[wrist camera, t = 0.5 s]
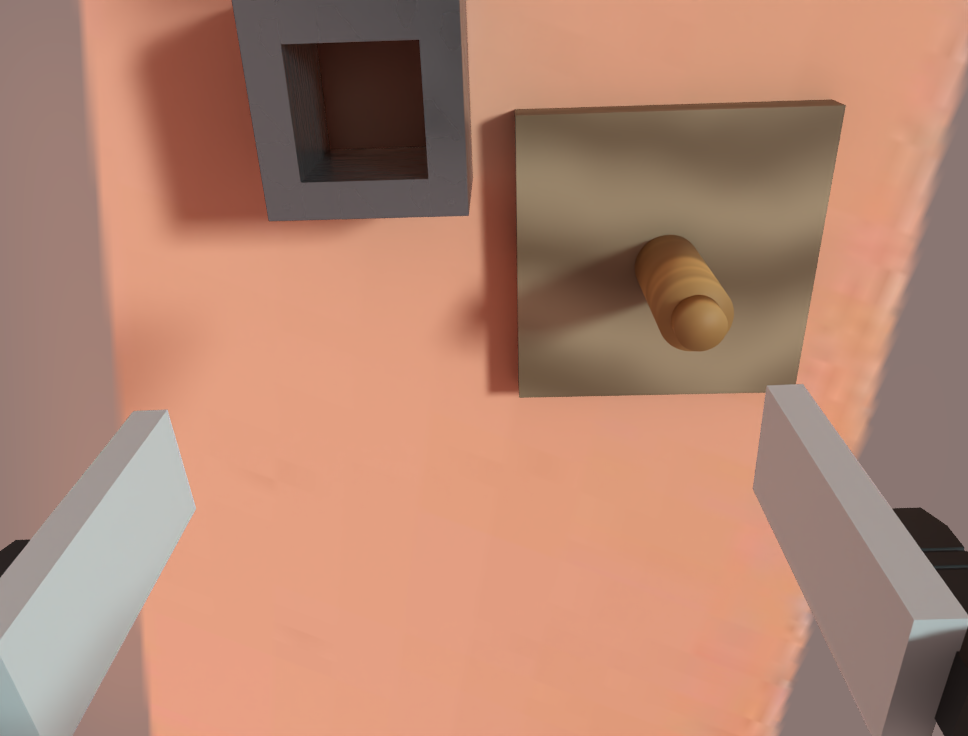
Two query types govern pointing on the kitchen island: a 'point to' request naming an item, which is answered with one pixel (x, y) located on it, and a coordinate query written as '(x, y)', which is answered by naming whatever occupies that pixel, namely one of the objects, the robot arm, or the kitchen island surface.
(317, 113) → the hollow square block
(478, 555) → the kitchen island surface
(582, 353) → the square plate
